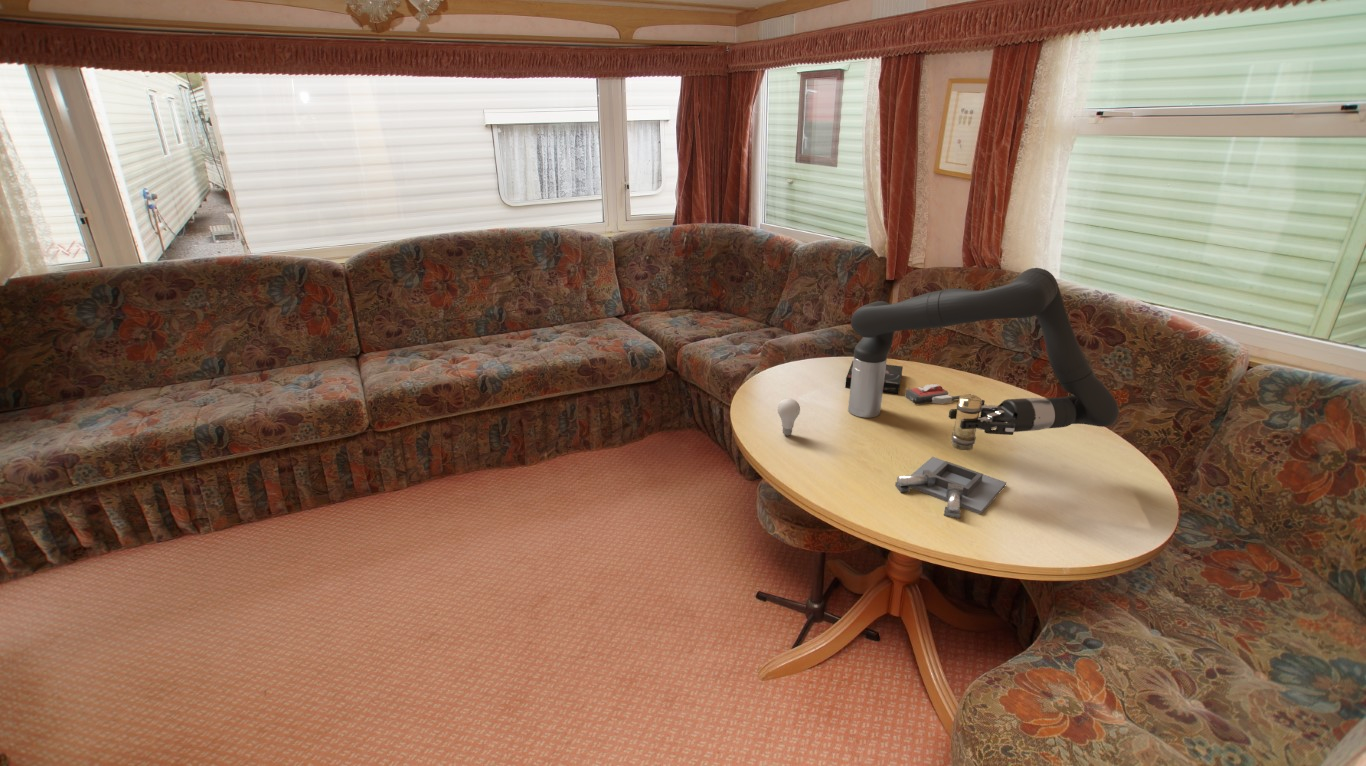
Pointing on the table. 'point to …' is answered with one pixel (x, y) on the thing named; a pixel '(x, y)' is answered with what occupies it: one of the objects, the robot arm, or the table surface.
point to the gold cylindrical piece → (965, 410)
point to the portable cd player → (890, 379)
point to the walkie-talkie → (930, 395)
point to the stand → (975, 484)
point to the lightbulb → (788, 414)
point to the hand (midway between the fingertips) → (955, 419)
